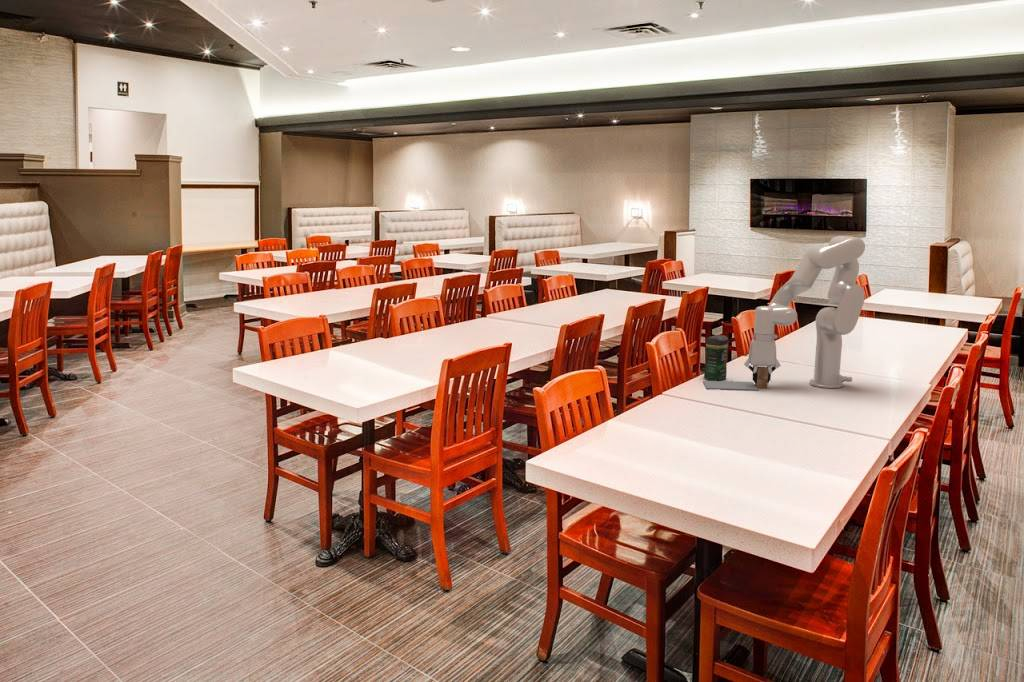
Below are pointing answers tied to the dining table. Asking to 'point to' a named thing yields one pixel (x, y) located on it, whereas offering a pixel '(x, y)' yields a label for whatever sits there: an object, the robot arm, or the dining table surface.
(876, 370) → the dining table surface
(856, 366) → the dining table surface
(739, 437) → the dining table surface
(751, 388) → the rubber mat
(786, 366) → the dining table surface
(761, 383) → the walnut block
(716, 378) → the coffee jar
